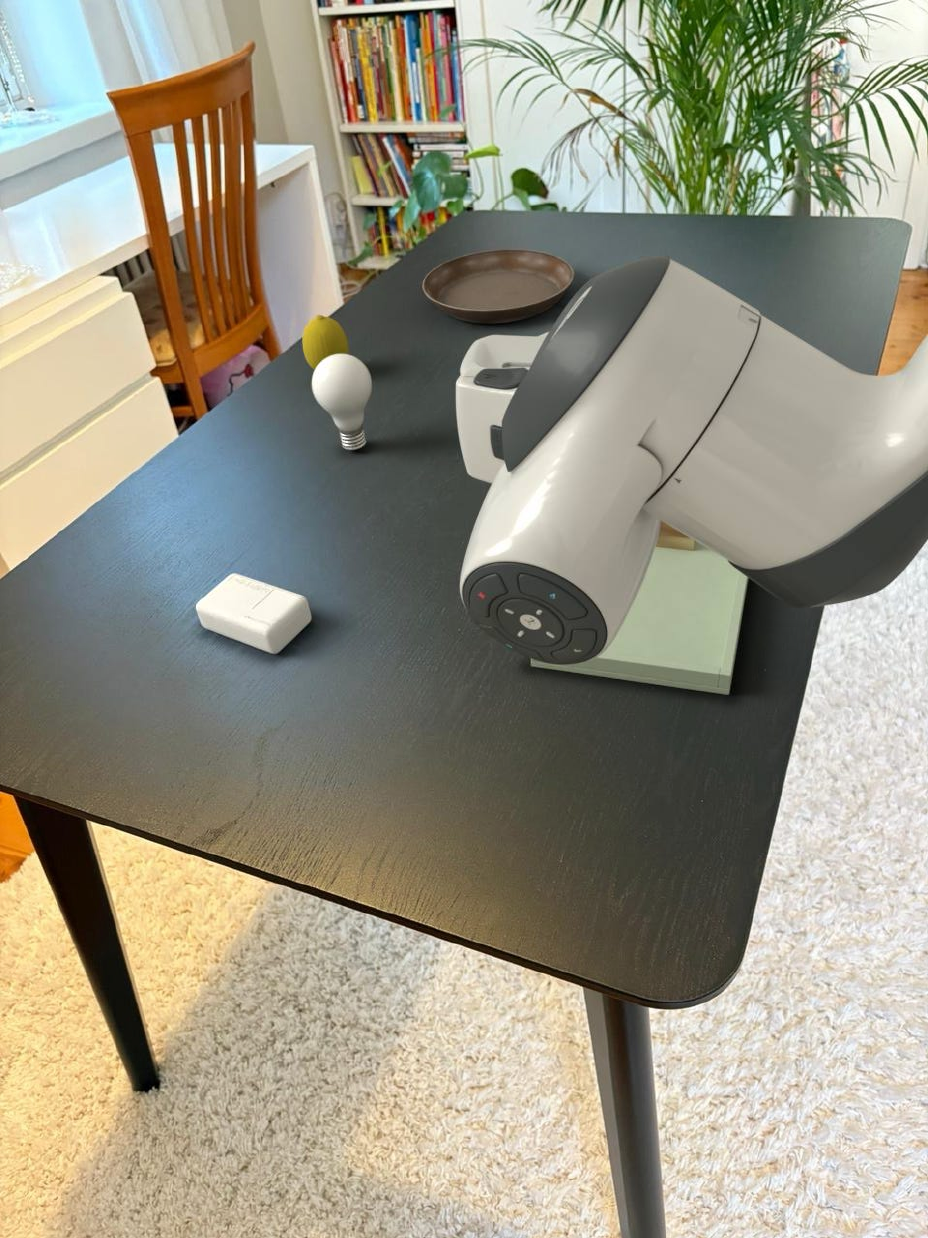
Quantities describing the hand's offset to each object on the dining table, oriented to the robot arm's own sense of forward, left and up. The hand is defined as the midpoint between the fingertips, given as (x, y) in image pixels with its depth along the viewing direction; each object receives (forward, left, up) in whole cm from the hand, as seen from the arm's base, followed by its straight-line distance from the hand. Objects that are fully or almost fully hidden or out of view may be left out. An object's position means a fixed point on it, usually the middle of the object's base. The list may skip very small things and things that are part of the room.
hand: (647, 331), depth 64 cm
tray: (0, -5, -26) cm, 26 cm away
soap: (+33, +6, -26) cm, 43 cm away
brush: (0, -12, -25) cm, 28 cm away
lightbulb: (+36, -23, -26) cm, 50 cm away
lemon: (+46, -39, -26) cm, 66 cm away
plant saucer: (+31, -63, -26) cm, 75 cm away
